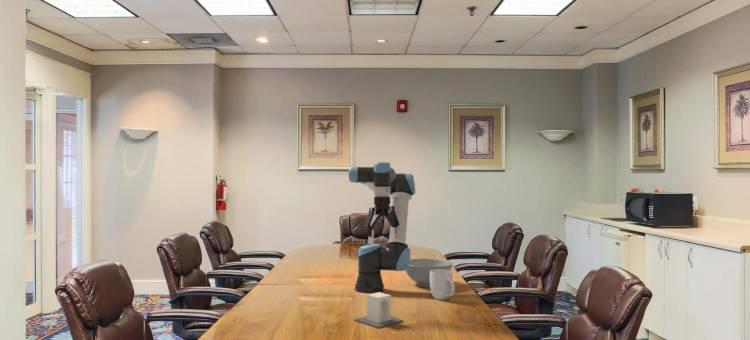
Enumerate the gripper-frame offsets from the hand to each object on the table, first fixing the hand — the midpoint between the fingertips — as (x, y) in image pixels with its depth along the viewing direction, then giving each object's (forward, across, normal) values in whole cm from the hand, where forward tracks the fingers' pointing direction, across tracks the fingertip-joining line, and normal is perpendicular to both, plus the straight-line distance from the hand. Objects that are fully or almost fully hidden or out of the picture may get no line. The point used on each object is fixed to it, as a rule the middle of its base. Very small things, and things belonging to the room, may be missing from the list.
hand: (381, 242), depth 234 cm
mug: (+29, +31, -10) cm, 44 cm away
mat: (+29, -18, -17) cm, 38 cm away
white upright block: (+28, -18, -17) cm, 37 cm away
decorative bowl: (+29, +50, +16) cm, 60 cm away
